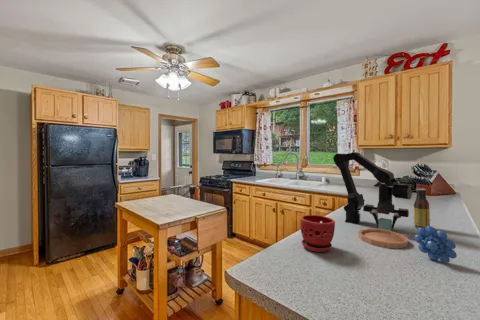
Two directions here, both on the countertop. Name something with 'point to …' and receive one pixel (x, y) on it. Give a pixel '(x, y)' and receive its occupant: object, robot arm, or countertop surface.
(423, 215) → the sauce bottle
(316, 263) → the countertop surface
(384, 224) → the block
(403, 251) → the countertop surface
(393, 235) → the dish
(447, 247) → the grapes
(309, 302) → the countertop surface
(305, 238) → the plant pot
